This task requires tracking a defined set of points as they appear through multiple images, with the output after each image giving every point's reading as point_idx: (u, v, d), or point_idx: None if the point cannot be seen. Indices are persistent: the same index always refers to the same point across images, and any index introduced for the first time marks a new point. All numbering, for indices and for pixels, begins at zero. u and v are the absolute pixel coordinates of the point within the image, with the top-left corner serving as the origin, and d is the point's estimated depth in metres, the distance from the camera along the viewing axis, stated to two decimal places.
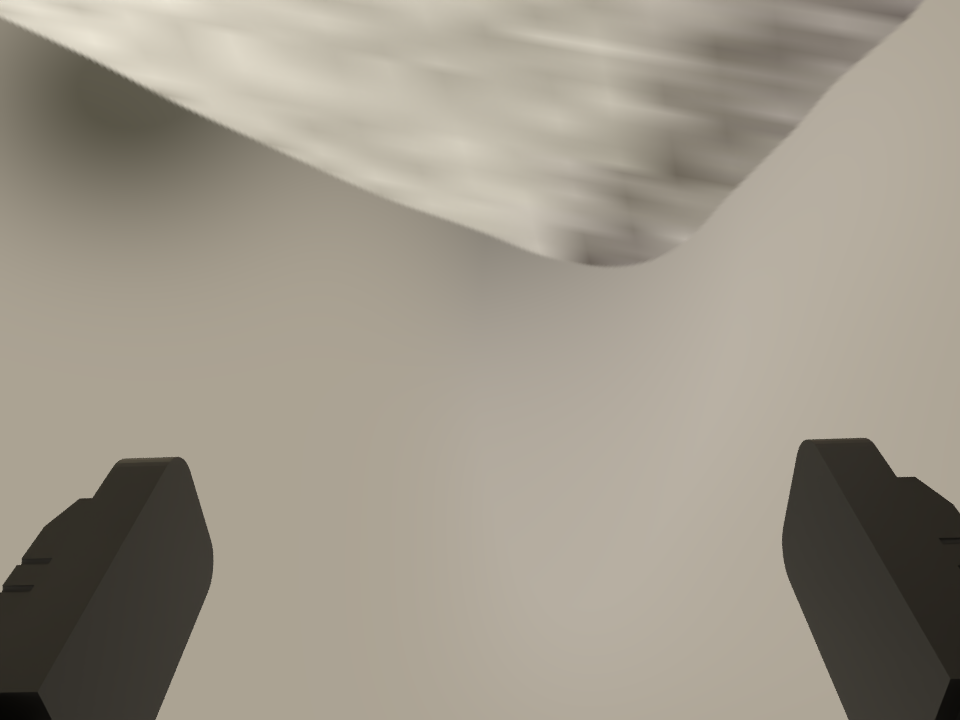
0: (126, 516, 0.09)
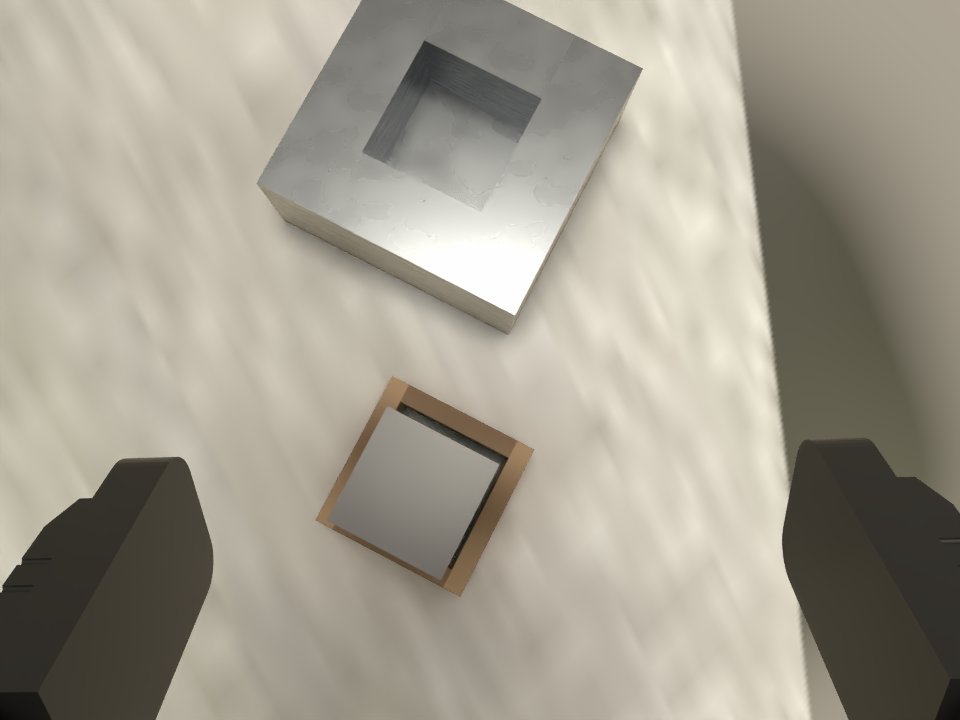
0: (126, 516, 0.09)
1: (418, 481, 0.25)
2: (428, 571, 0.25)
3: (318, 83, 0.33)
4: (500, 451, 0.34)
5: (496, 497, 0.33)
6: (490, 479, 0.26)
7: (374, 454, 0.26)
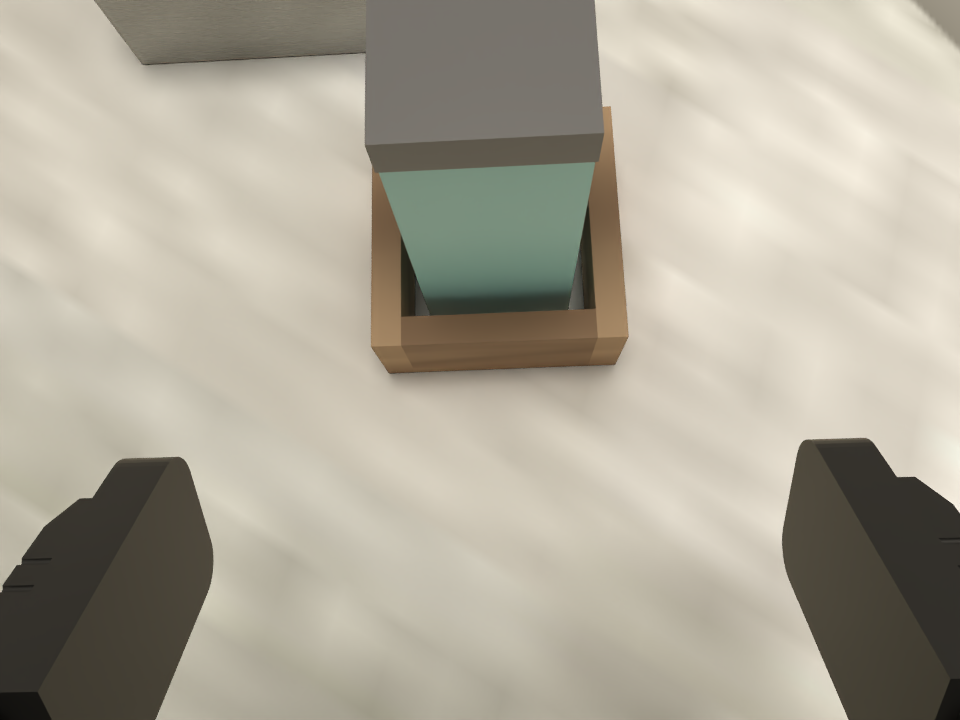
0: (126, 516, 0.09)
1: (478, 17, 0.14)
2: (576, 130, 0.13)
3: None
4: None
5: (598, 187, 0.22)
6: None
7: (387, 17, 0.14)
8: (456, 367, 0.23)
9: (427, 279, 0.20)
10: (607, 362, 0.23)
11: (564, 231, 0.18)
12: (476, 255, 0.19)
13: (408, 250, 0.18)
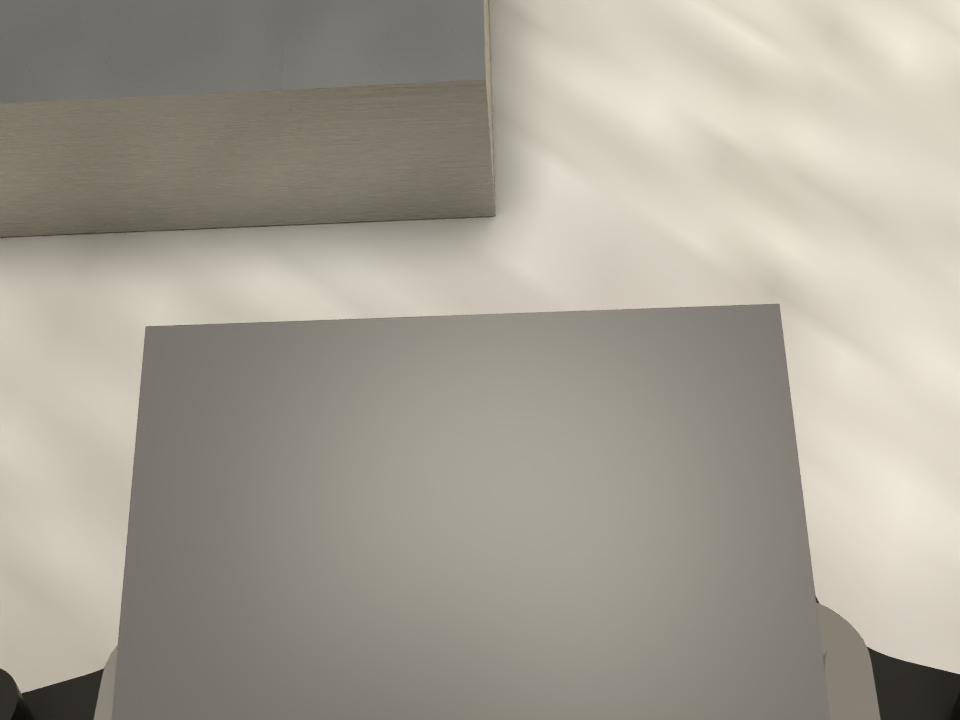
0: None
1: (457, 585, 0.05)
2: None
3: None
4: None
5: None
6: (783, 390, 0.05)
7: (187, 573, 0.05)
8: None
9: None
10: None
11: None
12: None
13: None
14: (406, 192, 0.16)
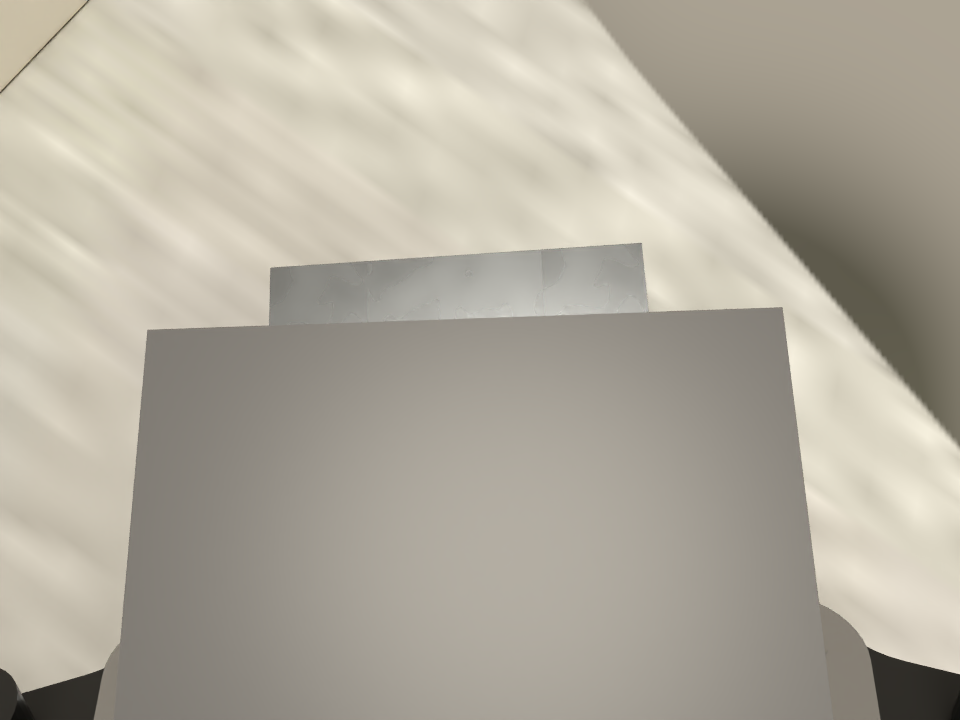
0: None
1: (460, 590, 0.05)
2: None
3: None
4: None
5: None
6: (786, 394, 0.05)
7: (188, 577, 0.05)
8: None
9: None
10: None
11: None
12: None
13: None
14: None
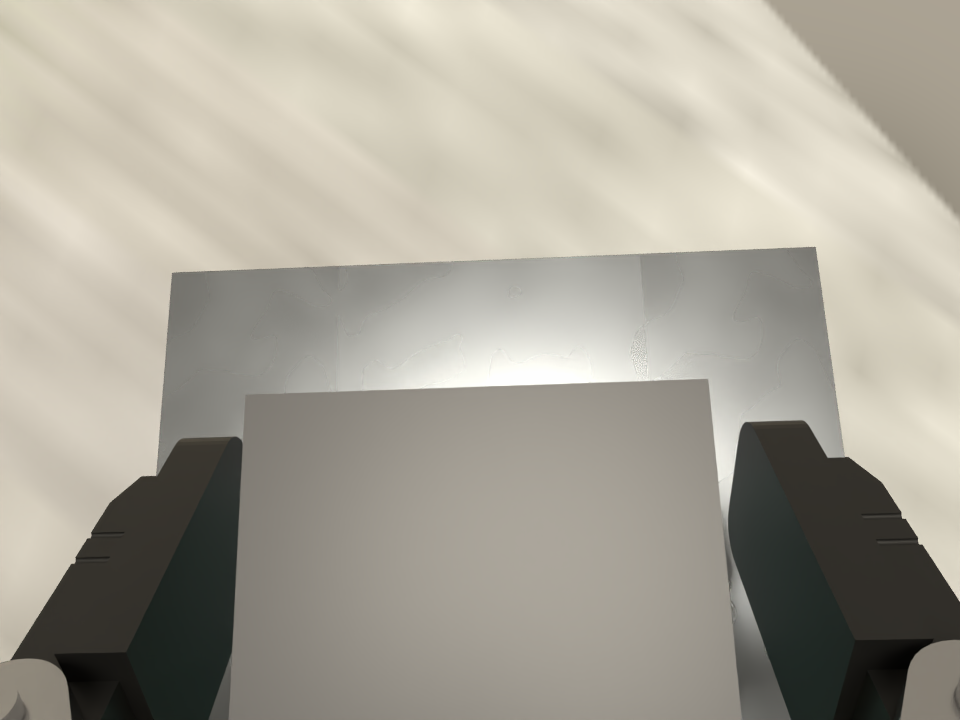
0: (193, 491, 0.09)
1: (475, 584, 0.07)
2: None
3: None
4: None
5: None
6: (709, 443, 0.07)
7: (280, 577, 0.07)
8: None
9: None
10: None
11: None
12: None
13: None
14: None
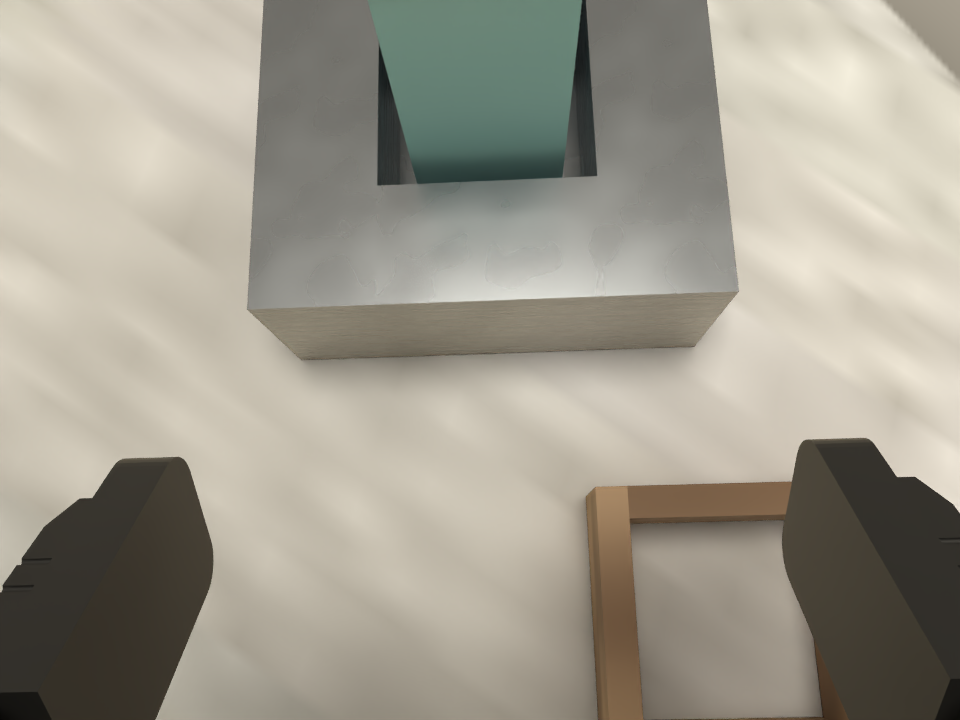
0: (126, 516, 0.09)
1: None
2: None
3: (263, 128, 0.21)
4: None
5: None
6: None
7: None
8: None
9: (419, 153, 0.20)
10: None
11: (554, 85, 0.17)
12: (466, 118, 0.19)
13: (398, 110, 0.18)
14: (642, 336, 0.23)
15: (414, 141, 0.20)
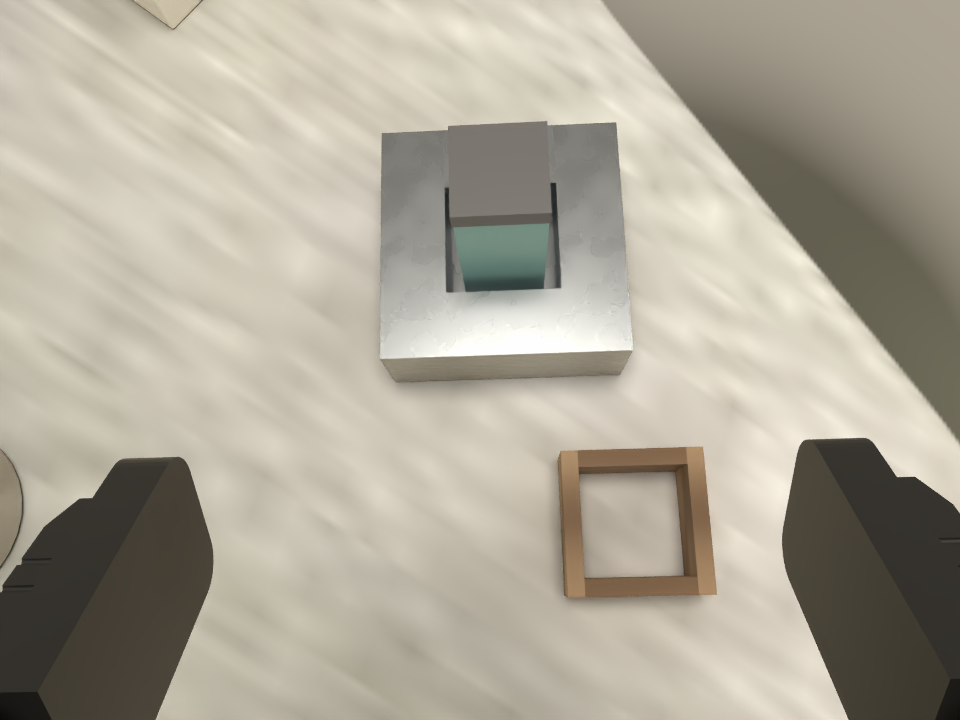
0: (126, 516, 0.09)
1: (498, 160, 0.32)
2: (539, 211, 0.32)
3: (383, 260, 0.39)
4: (678, 462, 0.38)
5: (697, 500, 0.37)
6: (546, 133, 0.33)
7: (458, 160, 0.32)
8: None
9: (468, 275, 0.38)
10: None
11: (538, 251, 0.36)
12: (494, 263, 0.37)
13: (460, 260, 0.37)
14: (588, 369, 0.41)
15: (466, 271, 0.38)
